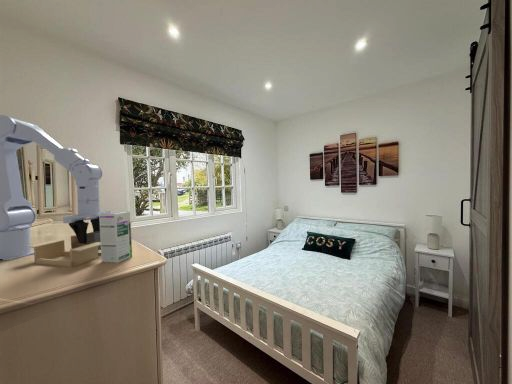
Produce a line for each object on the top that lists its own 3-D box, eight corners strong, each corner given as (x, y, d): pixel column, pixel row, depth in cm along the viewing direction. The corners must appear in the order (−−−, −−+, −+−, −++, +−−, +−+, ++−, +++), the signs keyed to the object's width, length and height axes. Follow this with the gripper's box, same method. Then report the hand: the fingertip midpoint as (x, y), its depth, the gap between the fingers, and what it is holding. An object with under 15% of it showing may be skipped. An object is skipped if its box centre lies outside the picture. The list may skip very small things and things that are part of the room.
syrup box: (117, 263, 63) (115, 213, 62) (100, 262, 64) (98, 213, 64) (132, 257, 68) (131, 211, 68) (116, 256, 70) (115, 210, 69)
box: (71, 249, 71) (70, 232, 71) (85, 245, 76) (84, 230, 76) (95, 251, 69) (95, 234, 69) (108, 247, 73) (107, 231, 73)
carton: (27, 262, 64) (26, 246, 64) (56, 254, 72) (55, 239, 72) (80, 268, 60) (80, 250, 59) (106, 258, 67) (105, 242, 67)
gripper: (75, 202, 64) (77, 248, 64) (117, 198, 78) (118, 236, 78) (56, 202, 65) (59, 247, 66) (101, 198, 80) (102, 235, 80)
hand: (90, 241), depth 72 cm, fingers closed on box, 4 cm apart
